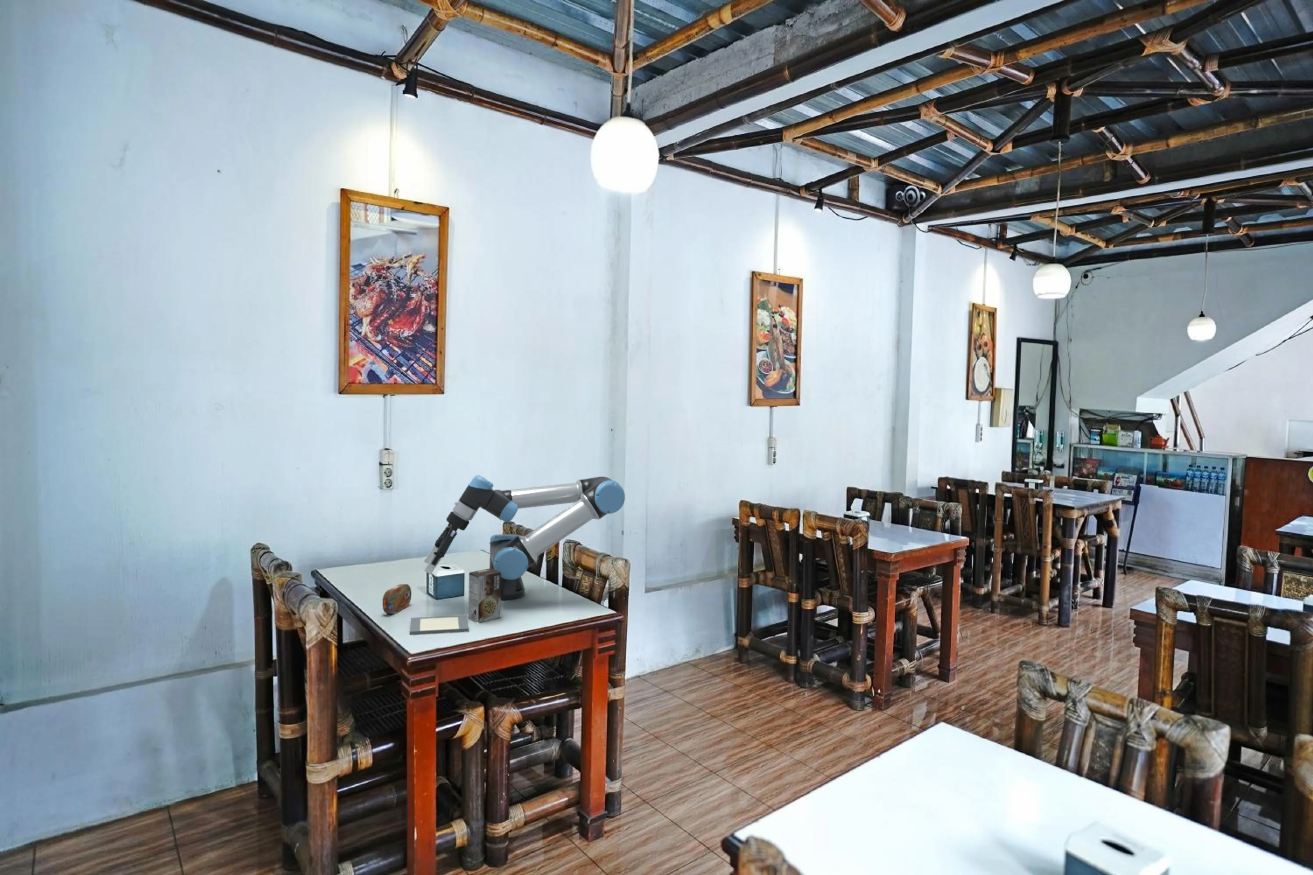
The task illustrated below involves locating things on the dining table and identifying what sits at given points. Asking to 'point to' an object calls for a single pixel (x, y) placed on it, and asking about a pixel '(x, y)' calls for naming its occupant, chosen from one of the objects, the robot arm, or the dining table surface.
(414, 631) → the mat
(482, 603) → the coffee box
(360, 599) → the dining table surface
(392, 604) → the tin
